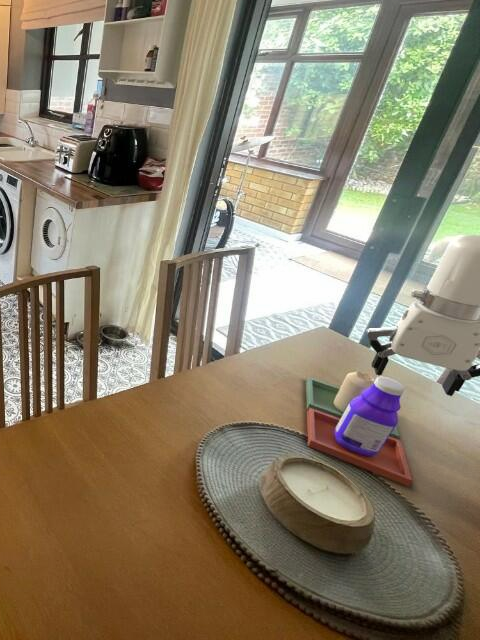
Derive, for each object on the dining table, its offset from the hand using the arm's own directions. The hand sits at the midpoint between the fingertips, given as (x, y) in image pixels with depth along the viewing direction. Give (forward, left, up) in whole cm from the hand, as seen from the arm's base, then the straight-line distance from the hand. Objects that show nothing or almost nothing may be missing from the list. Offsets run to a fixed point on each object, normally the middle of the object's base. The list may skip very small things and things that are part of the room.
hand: (410, 381), depth 79 cm
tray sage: (+3, -12, -19) cm, 23 cm away
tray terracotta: (+3, +1, -19) cm, 19 cm away
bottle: (+3, +1, -19) cm, 19 cm away
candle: (+3, -12, -19) cm, 22 cm away
